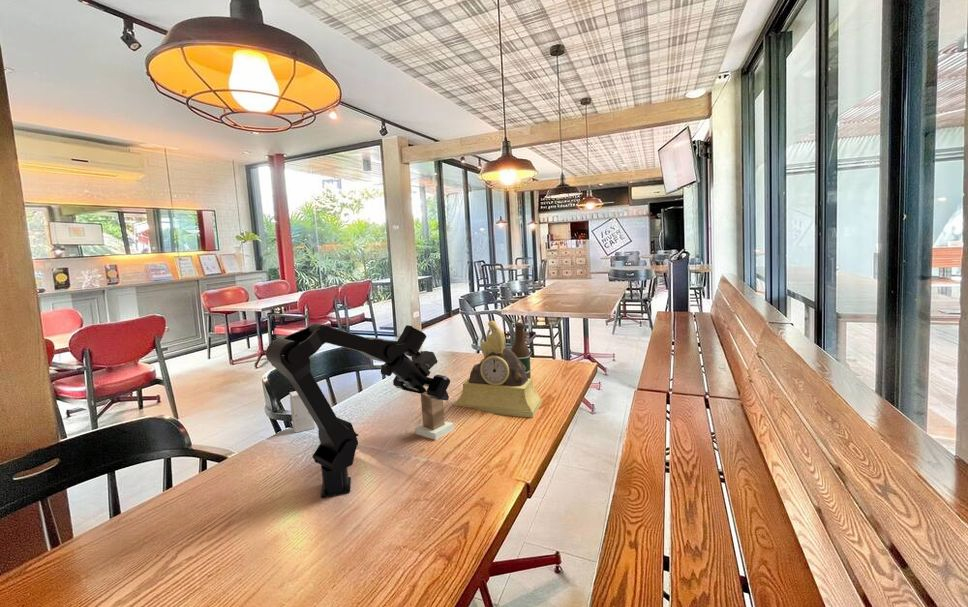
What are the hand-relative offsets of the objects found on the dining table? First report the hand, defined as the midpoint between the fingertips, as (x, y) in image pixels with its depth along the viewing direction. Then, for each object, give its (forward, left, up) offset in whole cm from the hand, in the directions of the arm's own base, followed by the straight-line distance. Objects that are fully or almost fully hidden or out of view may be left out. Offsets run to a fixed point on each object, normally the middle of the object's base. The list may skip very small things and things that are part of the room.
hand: (436, 395), depth 126 cm
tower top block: (-1, +1, -11) cm, 11 cm away
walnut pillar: (-1, +1, -9) cm, 9 cm away
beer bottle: (+36, -40, -12) cm, 55 cm away
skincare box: (+20, +40, -12) cm, 47 cm away
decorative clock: (+15, -23, -12) cm, 30 cm away
